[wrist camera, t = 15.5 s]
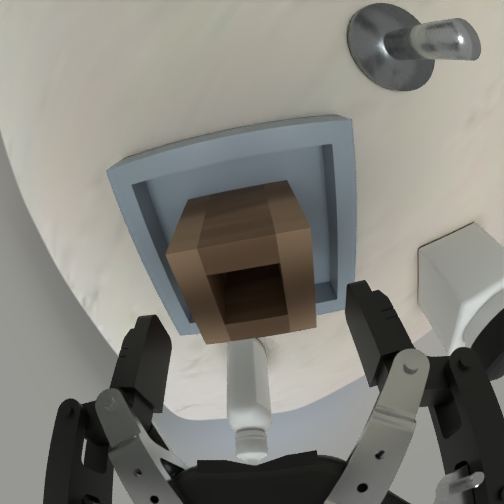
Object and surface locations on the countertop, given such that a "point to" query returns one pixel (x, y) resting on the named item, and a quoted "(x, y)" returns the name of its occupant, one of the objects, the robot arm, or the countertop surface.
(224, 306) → the block
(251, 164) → the tray
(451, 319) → the medicine bottle
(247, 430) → the eye dropper bottle
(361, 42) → the grey metal coffee tamper
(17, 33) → the countertop surface
